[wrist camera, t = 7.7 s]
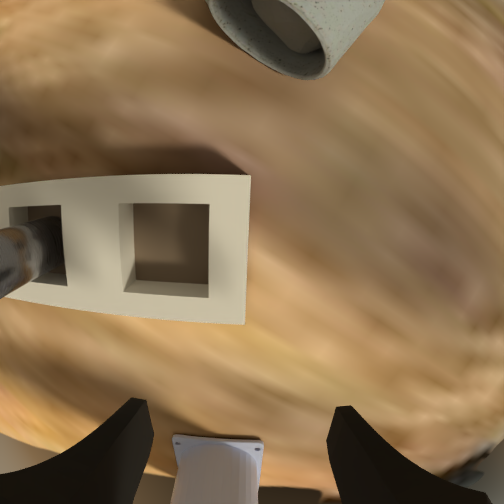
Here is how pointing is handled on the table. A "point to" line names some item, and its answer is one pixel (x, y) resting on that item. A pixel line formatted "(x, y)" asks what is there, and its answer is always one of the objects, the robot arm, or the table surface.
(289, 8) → the ceramic mug
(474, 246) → the table surface
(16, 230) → the pin
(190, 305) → the board
